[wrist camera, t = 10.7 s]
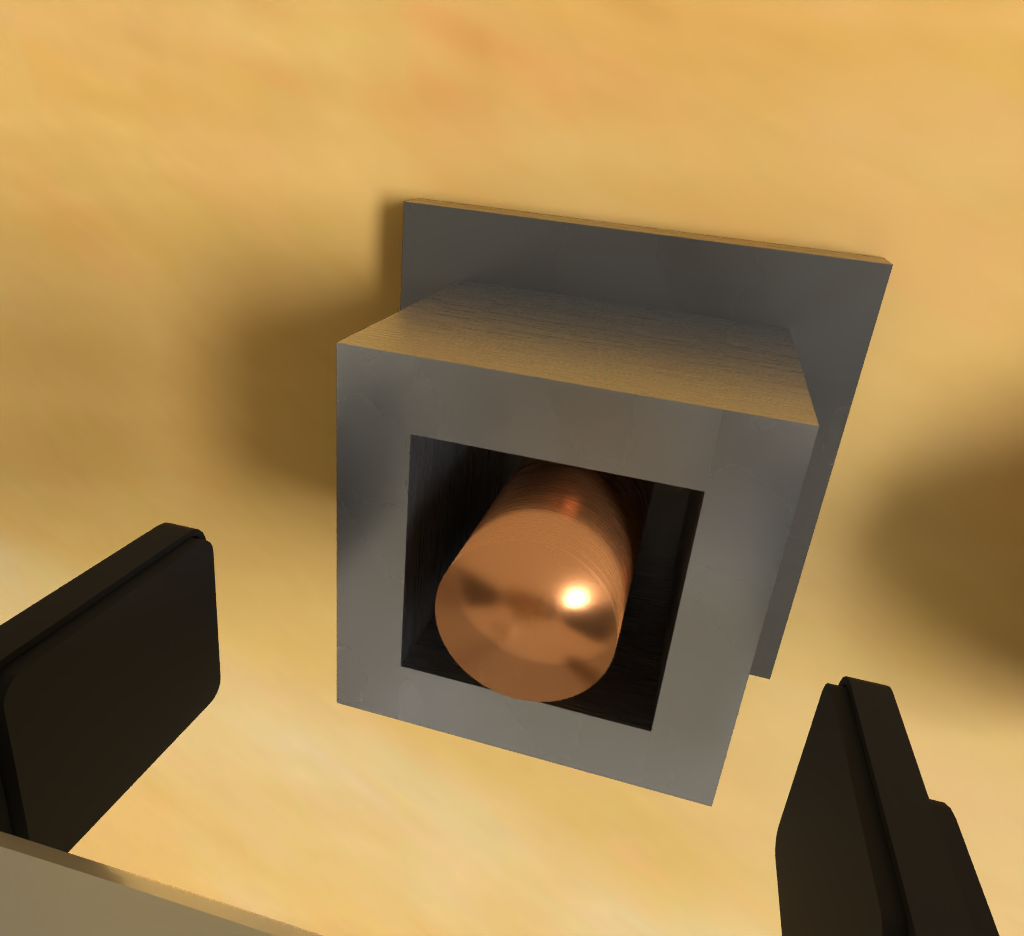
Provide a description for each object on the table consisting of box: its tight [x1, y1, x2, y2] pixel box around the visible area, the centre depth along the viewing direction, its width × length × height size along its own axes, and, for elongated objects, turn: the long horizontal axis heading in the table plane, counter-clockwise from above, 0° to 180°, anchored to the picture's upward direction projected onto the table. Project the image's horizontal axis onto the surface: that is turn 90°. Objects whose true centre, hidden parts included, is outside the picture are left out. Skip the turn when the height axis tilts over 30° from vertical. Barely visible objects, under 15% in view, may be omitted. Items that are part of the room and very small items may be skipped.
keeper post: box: [400, 199, 893, 702], centre depth 15 cm, size 10×10×8 cm
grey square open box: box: [337, 280, 819, 807], centre depth 15 cm, size 7×7×6 cm
